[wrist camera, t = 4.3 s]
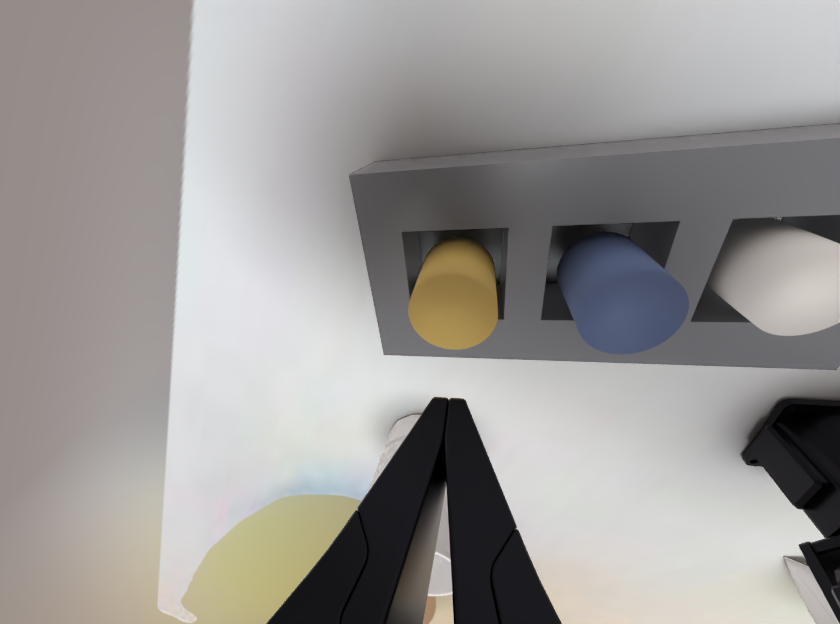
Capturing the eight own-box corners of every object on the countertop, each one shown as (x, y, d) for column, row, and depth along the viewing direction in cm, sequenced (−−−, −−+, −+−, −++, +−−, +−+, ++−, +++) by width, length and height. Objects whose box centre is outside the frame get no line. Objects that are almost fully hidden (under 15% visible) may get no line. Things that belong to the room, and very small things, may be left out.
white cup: (490, 442, 28) (494, 584, 20) (433, 474, 32) (416, 603, 24) (420, 394, 26) (391, 528, 18) (369, 434, 30) (326, 559, 22)
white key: (805, 213, 14) (907, 247, 11) (766, 287, 16) (842, 336, 12) (709, 217, 15) (776, 250, 11) (682, 288, 16) (733, 334, 13)
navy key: (651, 230, 14) (705, 270, 11) (630, 302, 16) (670, 356, 12) (562, 233, 15) (585, 271, 11) (552, 302, 16) (570, 353, 13)
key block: (889, 119, 13) (1026, 123, 10) (772, 322, 18) (836, 369, 15) (374, 161, 17) (349, 174, 14) (398, 318, 23) (383, 354, 19)
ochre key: (495, 235, 15) (499, 273, 12) (493, 302, 17) (496, 350, 14) (420, 238, 16) (403, 274, 12) (426, 302, 18) (412, 348, 14)
